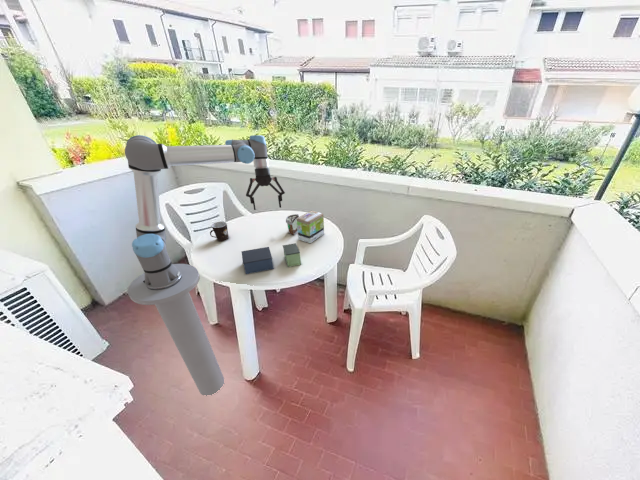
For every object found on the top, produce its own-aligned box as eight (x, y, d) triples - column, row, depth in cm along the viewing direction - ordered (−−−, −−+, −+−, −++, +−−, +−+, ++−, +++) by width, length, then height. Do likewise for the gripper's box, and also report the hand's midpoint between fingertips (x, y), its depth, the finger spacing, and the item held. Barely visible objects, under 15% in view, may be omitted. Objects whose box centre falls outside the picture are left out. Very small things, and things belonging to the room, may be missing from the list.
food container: (291, 226, 192) (289, 213, 186) (300, 227, 191) (298, 214, 185) (284, 235, 182) (282, 220, 176) (293, 236, 181) (291, 221, 175)
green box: (287, 267, 151) (285, 254, 147) (284, 257, 159) (282, 245, 155) (301, 264, 154) (299, 252, 149) (297, 255, 162) (295, 243, 157)
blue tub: (245, 274, 145) (242, 263, 141) (244, 262, 155) (241, 251, 151) (274, 268, 150) (272, 257, 146) (270, 257, 159) (268, 246, 155)
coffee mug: (227, 234, 181) (223, 220, 176) (232, 239, 176) (229, 224, 171) (208, 240, 175) (204, 225, 169) (213, 245, 170) (209, 230, 164)
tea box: (310, 243, 173) (309, 221, 164) (298, 239, 177) (295, 218, 168) (324, 234, 184) (323, 213, 175) (312, 230, 188) (310, 209, 179)
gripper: (284, 166, 155) (289, 205, 162) (236, 168, 147) (243, 209, 154) (286, 166, 148) (291, 207, 156) (236, 168, 140) (243, 211, 148)
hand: (267, 208), depth 155 cm, fingers open, 13 cm apart
